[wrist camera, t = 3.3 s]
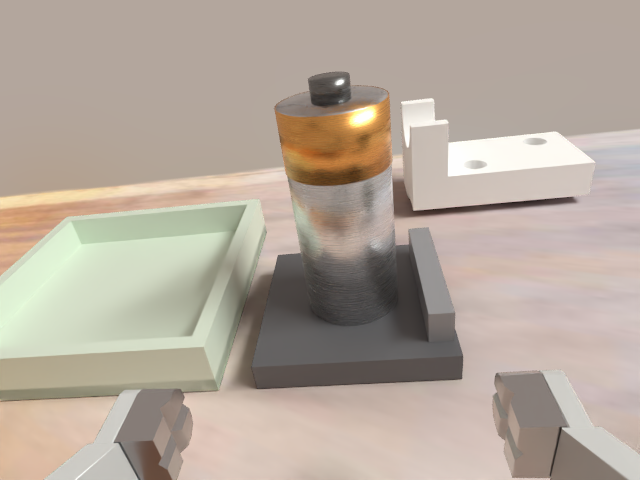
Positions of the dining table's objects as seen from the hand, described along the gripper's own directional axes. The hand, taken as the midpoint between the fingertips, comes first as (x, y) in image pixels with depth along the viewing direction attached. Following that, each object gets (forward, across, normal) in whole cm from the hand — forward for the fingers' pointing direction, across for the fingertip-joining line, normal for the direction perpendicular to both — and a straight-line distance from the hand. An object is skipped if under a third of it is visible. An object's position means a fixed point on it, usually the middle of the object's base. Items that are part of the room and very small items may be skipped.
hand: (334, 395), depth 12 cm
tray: (+15, +15, +8) cm, 23 cm away
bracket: (+27, -11, +8) cm, 31 cm away
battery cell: (+12, 0, +6) cm, 14 cm away
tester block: (+12, 0, +8) cm, 15 cm away
